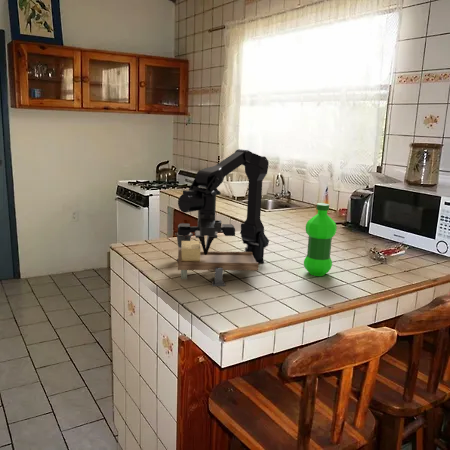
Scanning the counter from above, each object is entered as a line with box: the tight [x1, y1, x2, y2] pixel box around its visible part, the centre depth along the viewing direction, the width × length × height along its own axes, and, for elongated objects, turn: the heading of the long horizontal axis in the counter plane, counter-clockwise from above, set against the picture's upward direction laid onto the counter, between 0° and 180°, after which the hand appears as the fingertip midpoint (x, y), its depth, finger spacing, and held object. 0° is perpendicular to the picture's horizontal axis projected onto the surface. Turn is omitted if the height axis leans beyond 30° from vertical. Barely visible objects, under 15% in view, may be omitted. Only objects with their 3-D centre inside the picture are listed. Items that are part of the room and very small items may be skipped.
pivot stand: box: [180, 268, 226, 287], centre depth 153 cm, size 14×19×6 cm
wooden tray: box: [177, 247, 260, 271], centre depth 153 cm, size 26×15×4 cm, turn 96°
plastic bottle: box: [303, 202, 338, 277], centre depth 158 cm, size 10×10×25 cm
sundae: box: [174, 221, 194, 262], centre depth 169 cm, size 7×7×15 cm
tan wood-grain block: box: [181, 240, 201, 262], centre depth 152 cm, size 6×10×5 cm, turn 6°
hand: (205, 254), depth 153 cm, fingers closed
